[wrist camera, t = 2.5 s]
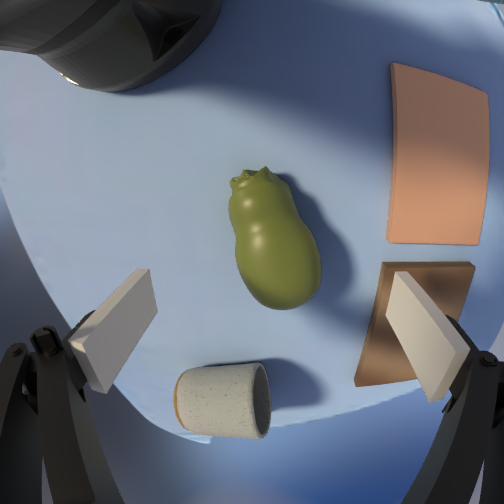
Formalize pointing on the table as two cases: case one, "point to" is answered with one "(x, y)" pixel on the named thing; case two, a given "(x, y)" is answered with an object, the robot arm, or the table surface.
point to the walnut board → (381, 332)
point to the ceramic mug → (224, 401)
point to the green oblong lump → (272, 241)
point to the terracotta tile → (437, 159)
